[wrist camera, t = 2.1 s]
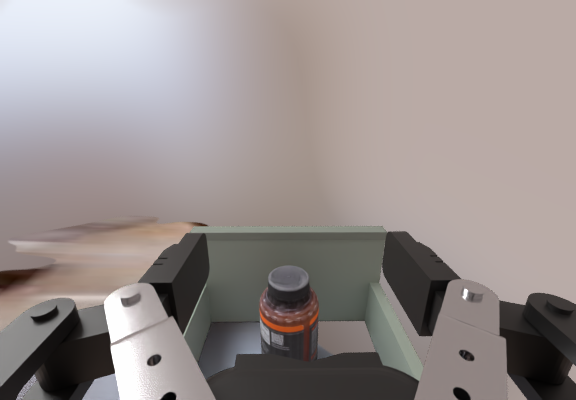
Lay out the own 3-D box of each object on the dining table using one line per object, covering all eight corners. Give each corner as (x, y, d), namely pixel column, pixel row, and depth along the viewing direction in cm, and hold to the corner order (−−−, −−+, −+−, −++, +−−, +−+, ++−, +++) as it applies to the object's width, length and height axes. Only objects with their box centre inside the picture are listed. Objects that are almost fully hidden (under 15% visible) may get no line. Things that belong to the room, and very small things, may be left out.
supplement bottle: (309, 338, 33) (313, 257, 29) (322, 386, 27) (329, 294, 23) (260, 343, 32) (257, 261, 28) (263, 394, 26) (259, 300, 22)
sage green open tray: (421, 436, 23) (453, 316, 19) (158, 439, 23) (127, 318, 18) (370, 312, 37) (382, 226, 32) (205, 314, 36) (193, 226, 32)
